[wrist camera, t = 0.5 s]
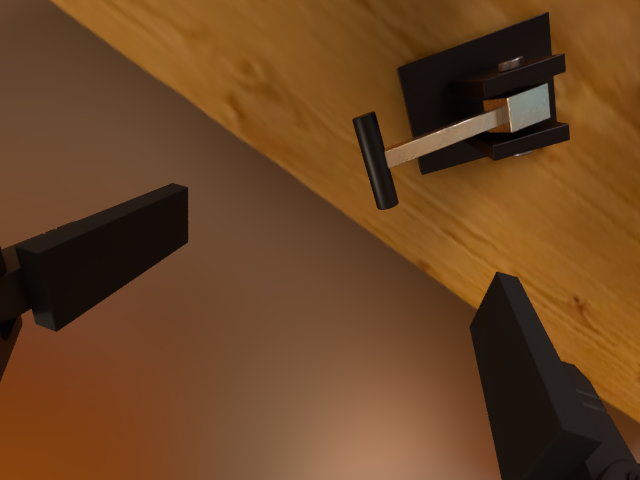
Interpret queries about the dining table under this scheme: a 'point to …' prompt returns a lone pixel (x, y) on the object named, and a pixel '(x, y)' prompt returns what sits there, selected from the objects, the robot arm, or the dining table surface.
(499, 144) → the switch base
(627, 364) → the dining table surface
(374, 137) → the switch lever
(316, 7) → the dining table surface
